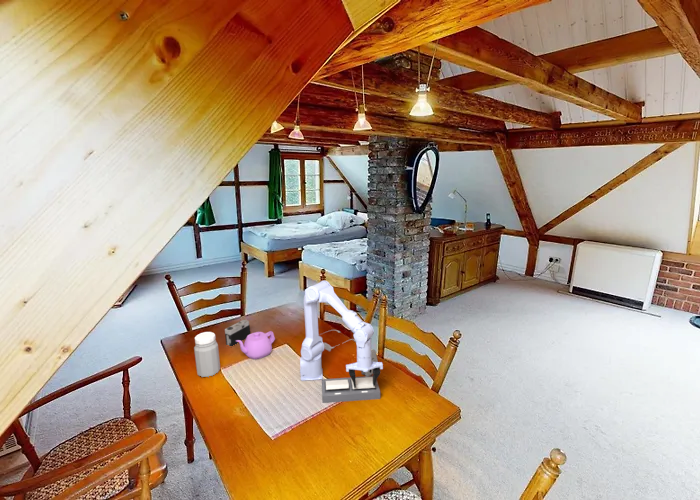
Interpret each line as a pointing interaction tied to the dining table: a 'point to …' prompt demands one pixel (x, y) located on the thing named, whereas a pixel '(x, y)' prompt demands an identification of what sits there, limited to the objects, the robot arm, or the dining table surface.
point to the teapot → (257, 344)
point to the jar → (206, 354)
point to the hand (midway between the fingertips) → (364, 385)
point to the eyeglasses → (335, 346)
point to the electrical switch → (373, 359)
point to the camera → (237, 332)
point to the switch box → (348, 392)
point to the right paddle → (363, 383)
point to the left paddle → (337, 384)
